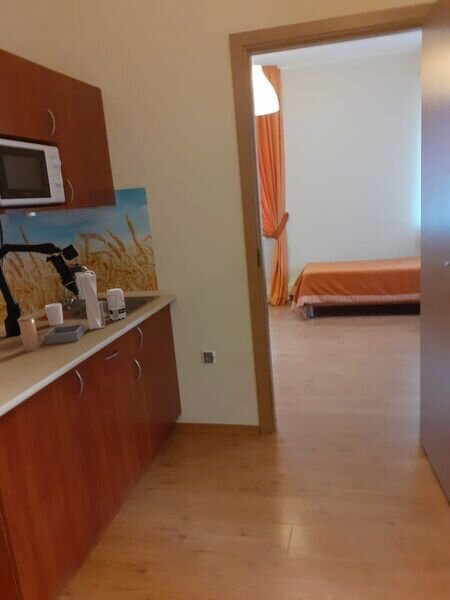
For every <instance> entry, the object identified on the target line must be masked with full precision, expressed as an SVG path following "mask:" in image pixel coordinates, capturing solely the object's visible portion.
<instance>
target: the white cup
mask: <svg viewBox="0 0 450 600" xmlns="http://www.w3.org/2000/svg"><path fill="white" fill-rule="evenodd" d="M44 309H45V312H46V317H47V320H48V324H49V326H53V327H56V326H61V325H62V324H63V323H64V316H63V306H62V303H60V302H55V303H49V304H46V305H45V306H44Z"/></svg>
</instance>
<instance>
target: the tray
mask: <svg viewBox="0 0 450 600" xmlns="http://www.w3.org/2000/svg"><path fill="white" fill-rule="evenodd" d="M85 326H86V325H85V323H79V324H71V325H57V326H53V327H52V328H51V329H49V330H48V332H46V333H45V334H44V340H45V345H51V344H60V343H69V342H71V343H72V342H78V341H79V340H80V339H81V338H82V337H83V336H84V335H85V333H86V327H85ZM82 335H83V336H82ZM81 336H82V337H81ZM77 340H78V341H77Z"/></svg>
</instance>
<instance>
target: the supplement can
mask: <svg viewBox="0 0 450 600" xmlns="http://www.w3.org/2000/svg"><path fill="white" fill-rule="evenodd" d="M106 299H107V307H108V308H107V309H108V313H109V318H110V320H111V319H112V320H111V321H119V320H118V319H121V320H123V319H122V318H124V319H126V317H127V310H126V305H125V303H126V302H125V297H124V291H123V290H122V288H121V287H117V288H111V289H107V290H106Z"/></svg>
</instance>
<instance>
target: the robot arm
mask: <svg viewBox="0 0 450 600" xmlns="http://www.w3.org/2000/svg"><path fill="white" fill-rule="evenodd" d="M8 253H38V254H43V255H48V256H46V260H45V262H46V263H48V262H50V263H51V265H52V266H53V268H54V269H55V270H56V273H57V274H58V275H59V277H60V280H61V282H60V283H61V285H62V286H63V287H64V288H65V289H67V290H69V291H70V292H72V293H73V294H75V295H76V296H78V295H79V292H80V291H79V290H80V289H79V288H78V285H77V282H76V281H77V275H76V273H83V272H84V271H83V266H82V264H79V263H78V262H76V263H74V264H73V265H72V266H70V265H69V264H67V262H66V261H69V262H71V261H72V260H74V259H76V258H78V257H80V253H79V252H78V251H77V249H76V248H75V247H74V245H73V243H70V244H68V246H65V247H63V248H61V247H58V246H56V245H55V243H53V242H50V241H47V242H42V243H41V242H39V243H9V242H6V243H4V244H3V245H2V246H1V247H0V292H1V294H2V296H3V299H4V301H5V307H6V312H7V315H6V316H5V318H4V320H3V322H4V328H5V336H4V337H5V338H9V337H19V336H20V335H21V330H20V325H19V319H20V318H21V316H22V314H23V309H24V308H23V306H22V305H21V301H16V300H15V297H14V295H13V293H12V289H11V288H10V284H9V283H8V280H7V277H6V275H5V272H4V267H3V262H2V261H3V260H2V259H3V258H4V257H5V256H6V255H8ZM56 254H57V255H56Z"/></svg>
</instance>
